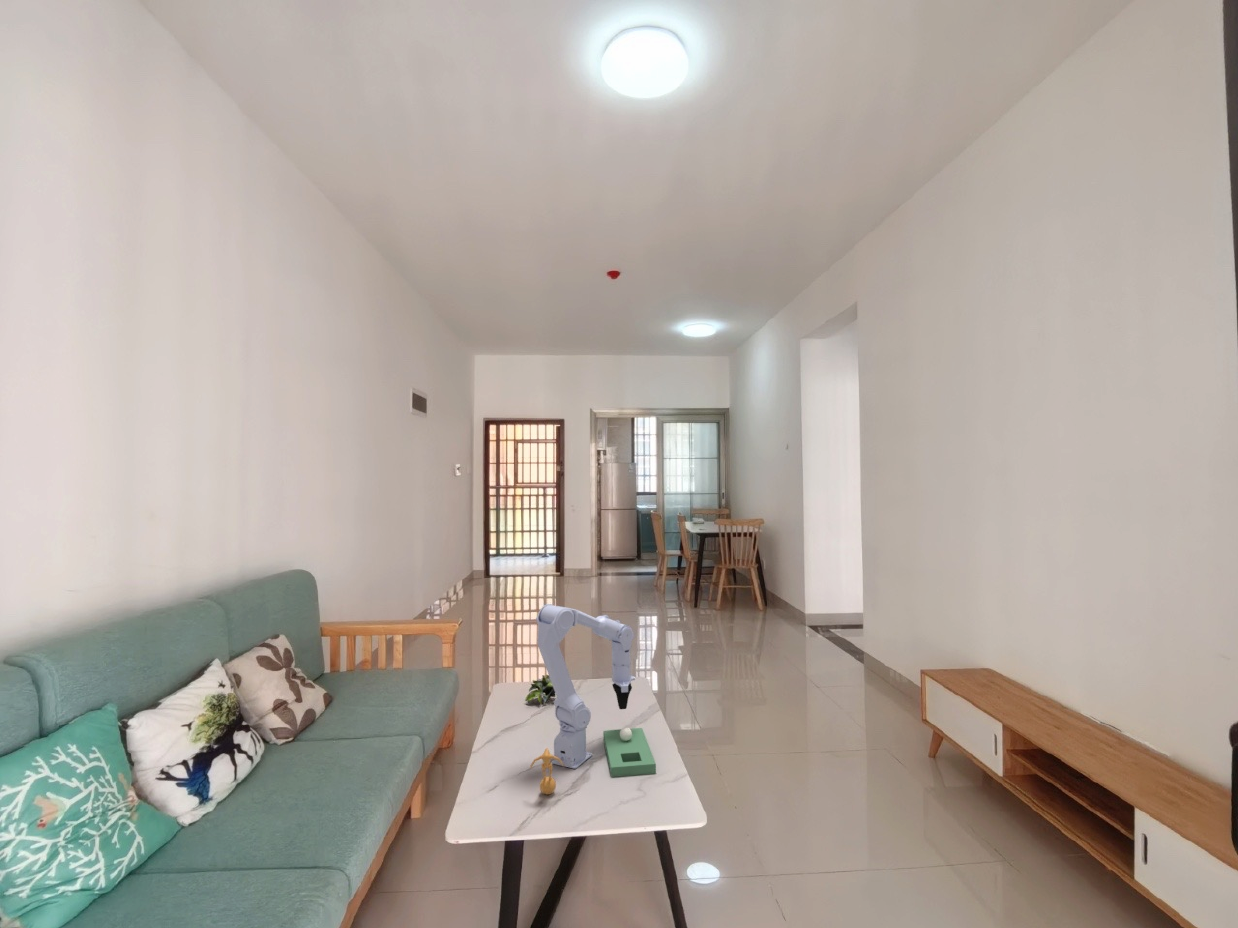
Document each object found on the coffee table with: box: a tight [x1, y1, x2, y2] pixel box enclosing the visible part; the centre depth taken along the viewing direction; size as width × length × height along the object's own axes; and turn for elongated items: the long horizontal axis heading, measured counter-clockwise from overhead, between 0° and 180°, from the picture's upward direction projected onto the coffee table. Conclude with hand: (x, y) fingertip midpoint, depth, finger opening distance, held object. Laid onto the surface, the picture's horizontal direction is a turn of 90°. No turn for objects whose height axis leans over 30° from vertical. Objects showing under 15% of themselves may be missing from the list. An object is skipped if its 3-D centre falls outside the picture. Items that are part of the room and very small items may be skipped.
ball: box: [620, 726, 632, 741], centre depth 174 cm, size 4×4×4 cm
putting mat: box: [602, 727, 657, 778], centre depth 170 cm, size 24×12×2 cm, turn 7°
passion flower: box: [524, 674, 556, 707], centre depth 213 cm, size 11×11×12 cm
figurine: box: [529, 748, 565, 796], centre depth 149 cm, size 8×6×12 cm
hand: (622, 708), depth 181 cm, fingers closed
